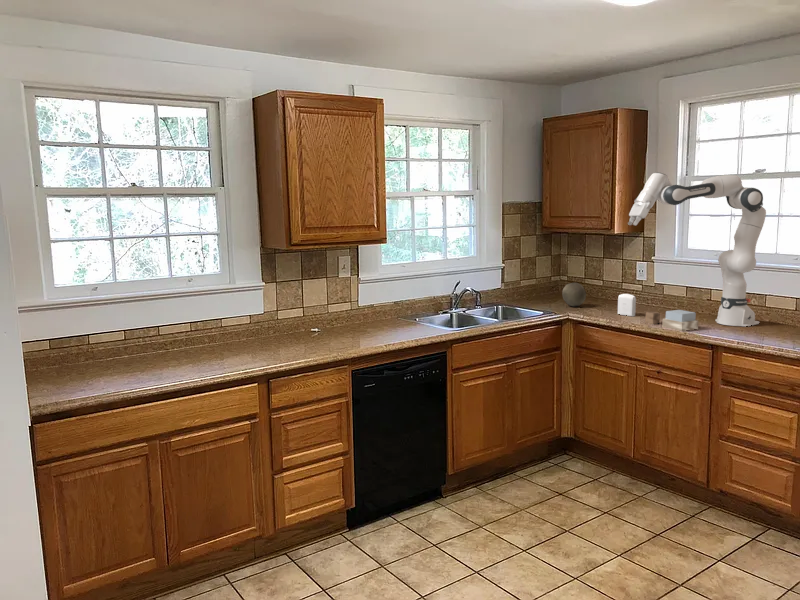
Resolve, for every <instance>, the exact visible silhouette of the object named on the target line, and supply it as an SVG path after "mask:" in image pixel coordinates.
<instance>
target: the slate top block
mask: <svg viewBox="0 0 800 600" xmlns="http://www.w3.org/2000/svg"><path fill="white" fill-rule="evenodd" d="M696 314H697V313H696V312H694V311H688V310H684V309H683V310H682V309H675V310H674V309H673V310H666V311H665V318H666V319H669V320H674V321H679V322H686V321H694V320H696V316H697V315H696Z"/></svg>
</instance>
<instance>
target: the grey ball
mask: <svg viewBox="0 0 800 600" xmlns="http://www.w3.org/2000/svg"><path fill="white" fill-rule="evenodd" d="M561 291H562V293H561V295H562V300H563V301H564V302H565V303H566V304H567V305H568V306H570V307H575V308H577V307H579V306H581V305H582V304H583V303H585V301H586V299H587V298H586V297H587V293H586V290H585V287H584V286H583V285H582V284H581V283H579V282H571V283H567V284H565V286H564V287H563V288H562V290H561Z"/></svg>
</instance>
